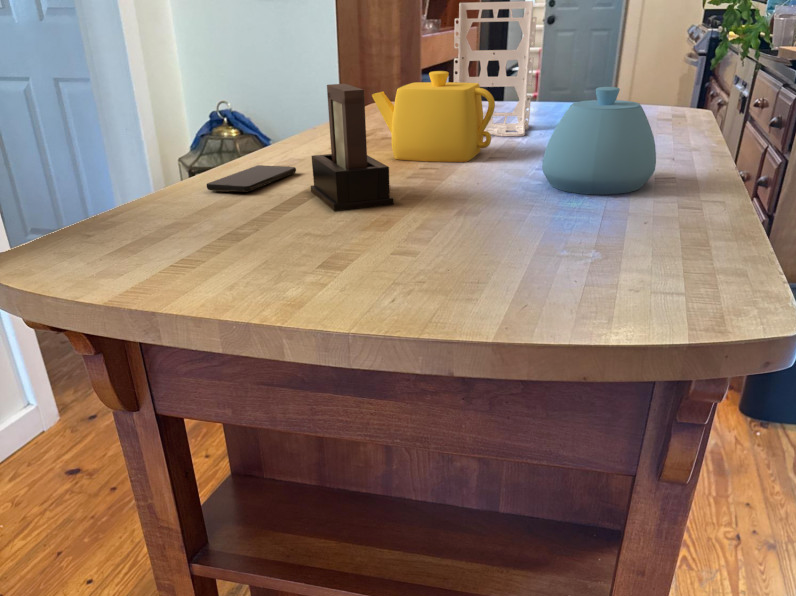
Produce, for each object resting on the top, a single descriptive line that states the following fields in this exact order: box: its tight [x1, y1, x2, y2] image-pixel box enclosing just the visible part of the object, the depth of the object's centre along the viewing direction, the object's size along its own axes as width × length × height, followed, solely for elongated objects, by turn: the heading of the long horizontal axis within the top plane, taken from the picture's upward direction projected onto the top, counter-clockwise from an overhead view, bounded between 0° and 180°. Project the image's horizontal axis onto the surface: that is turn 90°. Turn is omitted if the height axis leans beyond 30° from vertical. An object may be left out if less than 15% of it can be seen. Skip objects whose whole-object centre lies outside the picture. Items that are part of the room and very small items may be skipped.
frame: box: [326, 83, 368, 170], centre depth 96 cm, size 8×2×12 cm, turn 20°
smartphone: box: [206, 164, 297, 193], centre depth 108 cm, size 7×1×15 cm
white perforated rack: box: [453, 0, 538, 137], centre depth 136 cm, size 14×14×20 cm
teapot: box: [371, 70, 496, 163], centre depth 120 cm, size 20×12×12 cm, turn 73°
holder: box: [310, 153, 395, 212], centre depth 98 cm, size 12×8×4 cm, turn 20°
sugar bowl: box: [541, 86, 657, 196], centre depth 99 cm, size 15×15×12 cm
